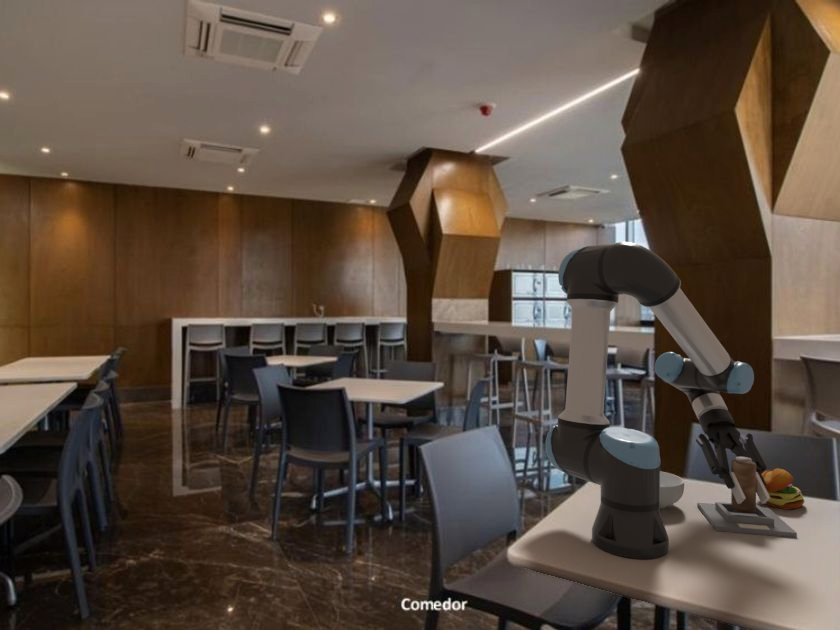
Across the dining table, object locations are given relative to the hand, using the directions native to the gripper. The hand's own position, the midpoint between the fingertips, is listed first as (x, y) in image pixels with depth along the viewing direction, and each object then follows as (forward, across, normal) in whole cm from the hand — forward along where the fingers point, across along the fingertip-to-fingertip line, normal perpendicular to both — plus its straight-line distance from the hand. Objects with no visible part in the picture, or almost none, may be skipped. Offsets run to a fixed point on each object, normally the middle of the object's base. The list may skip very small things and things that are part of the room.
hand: (753, 500), depth 126 cm
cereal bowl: (-7, +18, -16) cm, 24 cm away
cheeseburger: (-6, -16, -15) cm, 23 cm away
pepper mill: (0, 0, -5) cm, 5 cm away
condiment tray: (+2, 0, -7) cm, 7 cm away
